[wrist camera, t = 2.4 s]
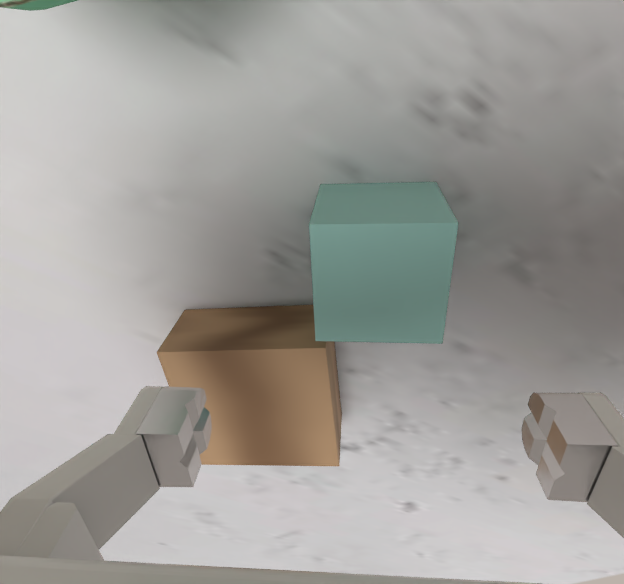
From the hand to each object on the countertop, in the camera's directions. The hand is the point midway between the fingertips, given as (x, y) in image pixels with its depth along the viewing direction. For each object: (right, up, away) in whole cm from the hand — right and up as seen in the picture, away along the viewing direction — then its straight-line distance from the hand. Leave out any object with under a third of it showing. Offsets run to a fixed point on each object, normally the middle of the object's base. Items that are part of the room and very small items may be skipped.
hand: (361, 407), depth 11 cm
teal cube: (+2, +6, +9) cm, 11 cm away
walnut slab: (-4, -1, +14) cm, 15 cm away
